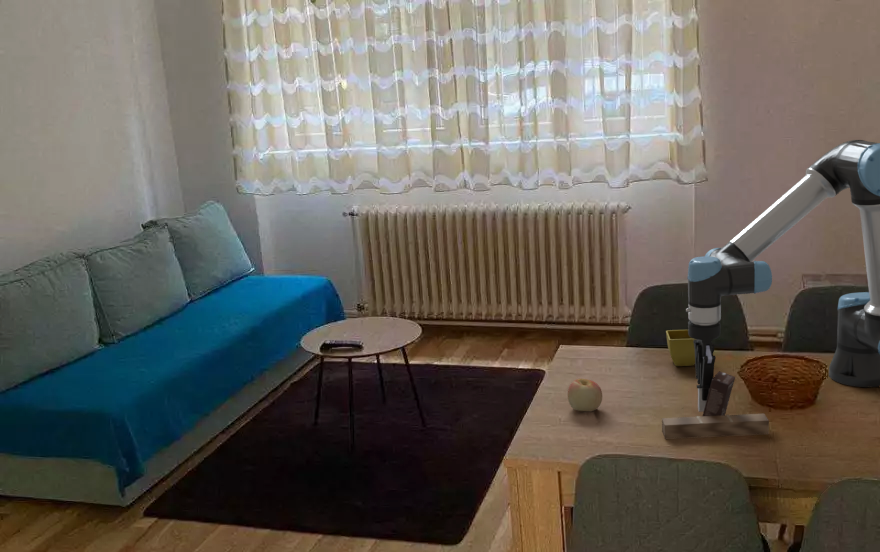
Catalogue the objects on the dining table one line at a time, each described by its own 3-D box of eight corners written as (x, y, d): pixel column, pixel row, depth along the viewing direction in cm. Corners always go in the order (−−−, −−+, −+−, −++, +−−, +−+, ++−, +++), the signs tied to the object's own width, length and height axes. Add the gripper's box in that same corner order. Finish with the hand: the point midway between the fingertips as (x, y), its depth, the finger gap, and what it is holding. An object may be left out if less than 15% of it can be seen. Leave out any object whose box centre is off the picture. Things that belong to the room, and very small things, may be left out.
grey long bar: (763, 426, 207) (763, 413, 206) (768, 434, 203) (768, 419, 202) (662, 431, 209) (661, 417, 208) (665, 438, 205) (664, 424, 205)
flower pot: (666, 358, 256) (665, 329, 254) (696, 357, 255) (696, 328, 253) (669, 369, 248) (669, 339, 246) (701, 368, 247) (700, 338, 244)
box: (718, 429, 208) (729, 384, 204) (700, 422, 211) (710, 378, 206) (725, 419, 213) (736, 376, 209) (707, 413, 215) (717, 370, 211)
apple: (571, 402, 231) (570, 374, 229) (605, 404, 228) (604, 376, 226) (565, 416, 223) (563, 387, 221) (599, 418, 220) (598, 388, 218)
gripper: (683, 313, 216) (683, 400, 222) (694, 330, 204) (694, 422, 210) (713, 311, 215) (713, 399, 221) (726, 328, 203) (725, 420, 209)
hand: (704, 410), depth 216 cm, fingers closed
